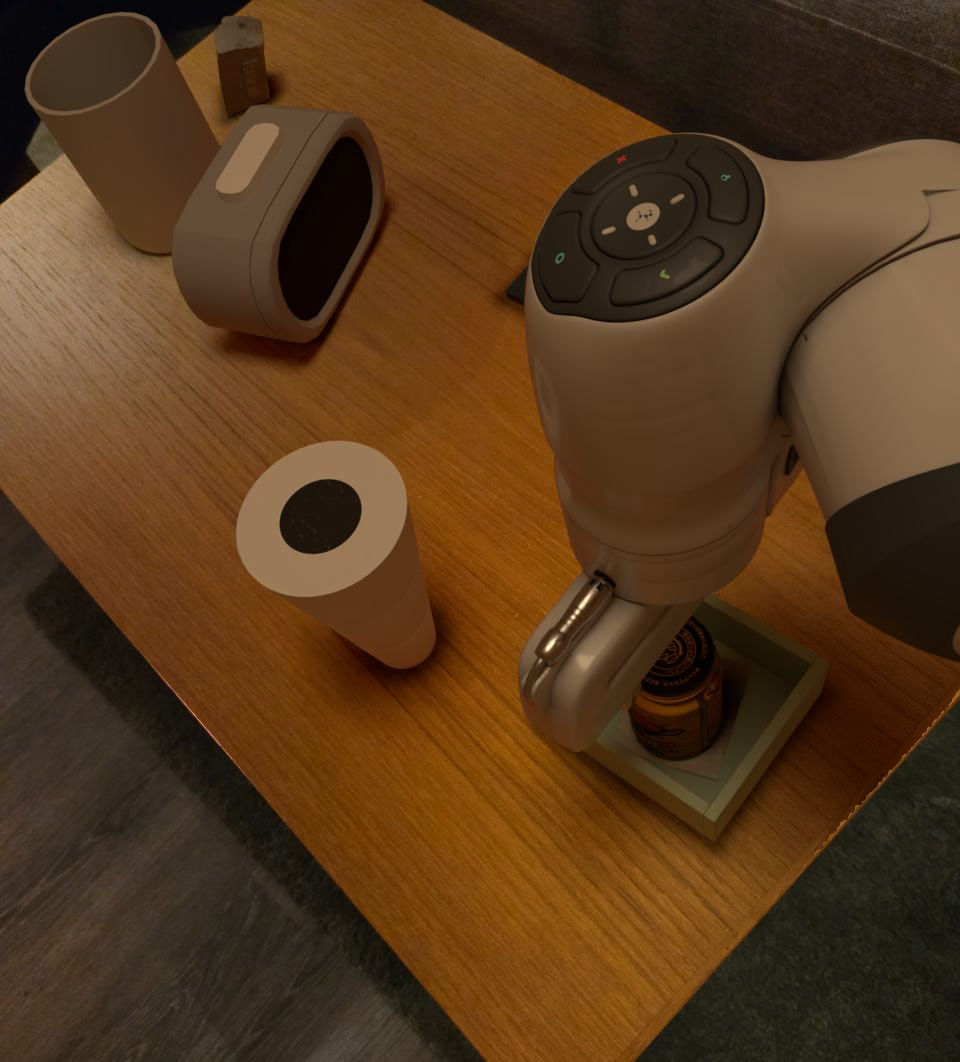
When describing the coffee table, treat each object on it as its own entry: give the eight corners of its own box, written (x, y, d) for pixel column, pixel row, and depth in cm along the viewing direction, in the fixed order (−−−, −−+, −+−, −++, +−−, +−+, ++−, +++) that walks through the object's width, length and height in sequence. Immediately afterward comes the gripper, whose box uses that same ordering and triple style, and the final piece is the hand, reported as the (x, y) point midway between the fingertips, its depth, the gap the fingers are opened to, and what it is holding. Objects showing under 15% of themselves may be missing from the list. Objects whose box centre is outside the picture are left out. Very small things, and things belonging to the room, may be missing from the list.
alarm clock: (310, 374, 87) (246, 261, 75) (222, 357, 90) (147, 245, 78) (400, 203, 93) (354, 73, 81) (315, 192, 97) (259, 66, 85)
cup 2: (386, 734, 71) (291, 631, 55) (312, 634, 76) (206, 513, 60) (502, 645, 72) (442, 519, 56) (422, 551, 77) (346, 410, 61)
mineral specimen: (230, 132, 102) (189, 53, 96) (226, 99, 108) (187, 22, 101) (294, 104, 101) (258, 22, 95) (287, 72, 107) (252, -8, 101)
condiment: (610, 749, 67) (591, 684, 56) (649, 639, 69) (637, 558, 59) (717, 781, 64) (717, 720, 54) (752, 666, 67) (759, 587, 56)
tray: (821, 692, 66) (830, 660, 61) (714, 842, 63) (714, 822, 58) (653, 592, 71) (648, 556, 66) (548, 727, 69) (535, 700, 64)
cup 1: (147, 278, 97) (49, 138, 82) (91, 181, 105) (-7, 39, 91) (260, 211, 97) (182, 59, 83) (195, 119, 105) (114, -32, 91)
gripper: (578, 722, 40) (607, 808, 52) (852, 368, 44) (819, 526, 56) (461, 642, 42) (516, 742, 55) (731, 315, 47) (725, 477, 59)
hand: (671, 630), depth 56 cm, fingers open, 8 cm apart
